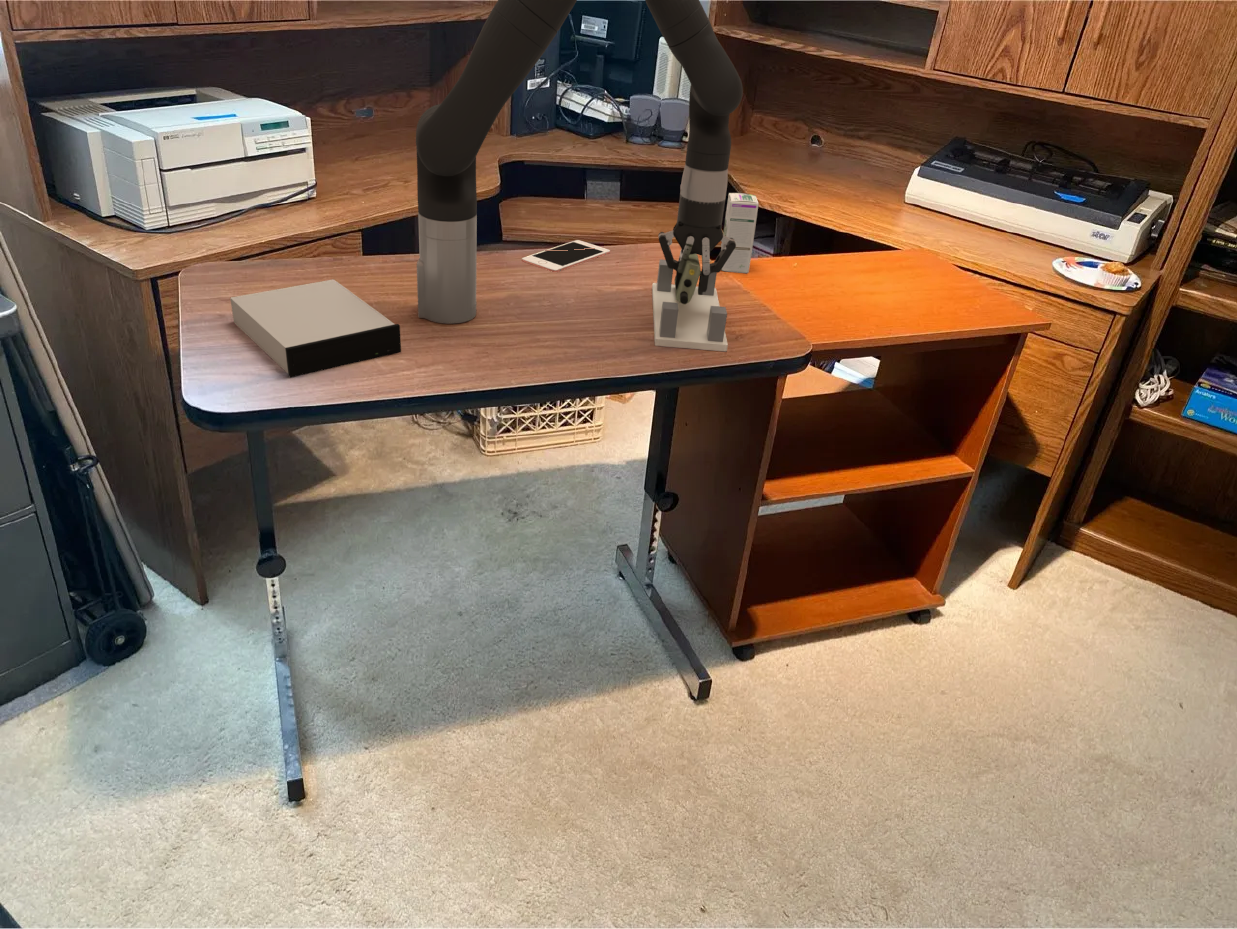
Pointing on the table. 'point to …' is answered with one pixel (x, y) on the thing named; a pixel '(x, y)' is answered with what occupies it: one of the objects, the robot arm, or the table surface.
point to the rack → (687, 315)
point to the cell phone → (565, 256)
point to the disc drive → (315, 327)
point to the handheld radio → (688, 280)
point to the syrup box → (740, 230)
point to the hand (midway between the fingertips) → (690, 292)
